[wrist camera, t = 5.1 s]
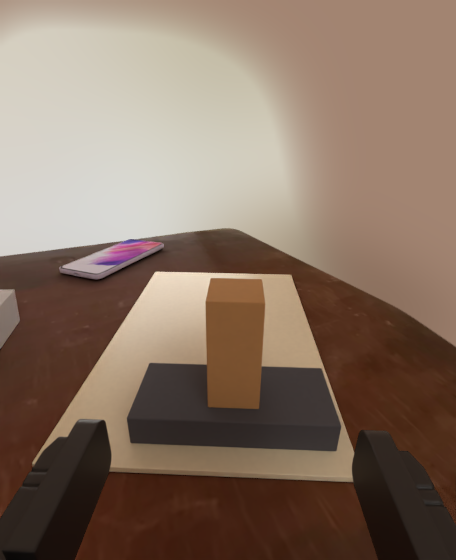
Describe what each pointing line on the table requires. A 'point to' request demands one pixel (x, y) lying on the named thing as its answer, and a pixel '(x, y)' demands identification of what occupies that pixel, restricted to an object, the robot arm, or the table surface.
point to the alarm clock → (7, 314)
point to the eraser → (234, 387)
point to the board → (192, 350)
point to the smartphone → (111, 259)
